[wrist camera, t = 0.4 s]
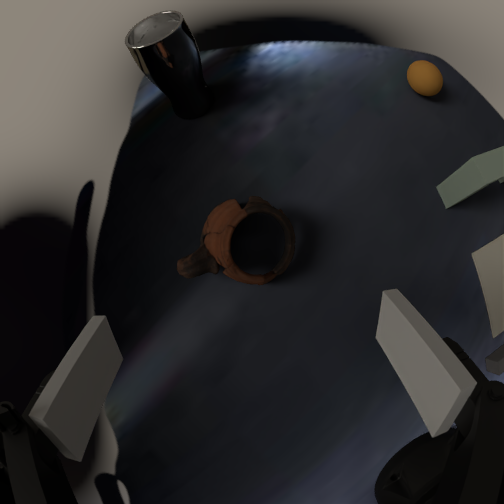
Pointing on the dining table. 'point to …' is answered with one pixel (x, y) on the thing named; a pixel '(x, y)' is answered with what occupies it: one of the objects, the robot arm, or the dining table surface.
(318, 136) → the dining table surface
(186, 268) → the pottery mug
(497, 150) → the bridge
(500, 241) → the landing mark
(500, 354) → the stopper
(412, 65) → the ball
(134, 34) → the beer glass
